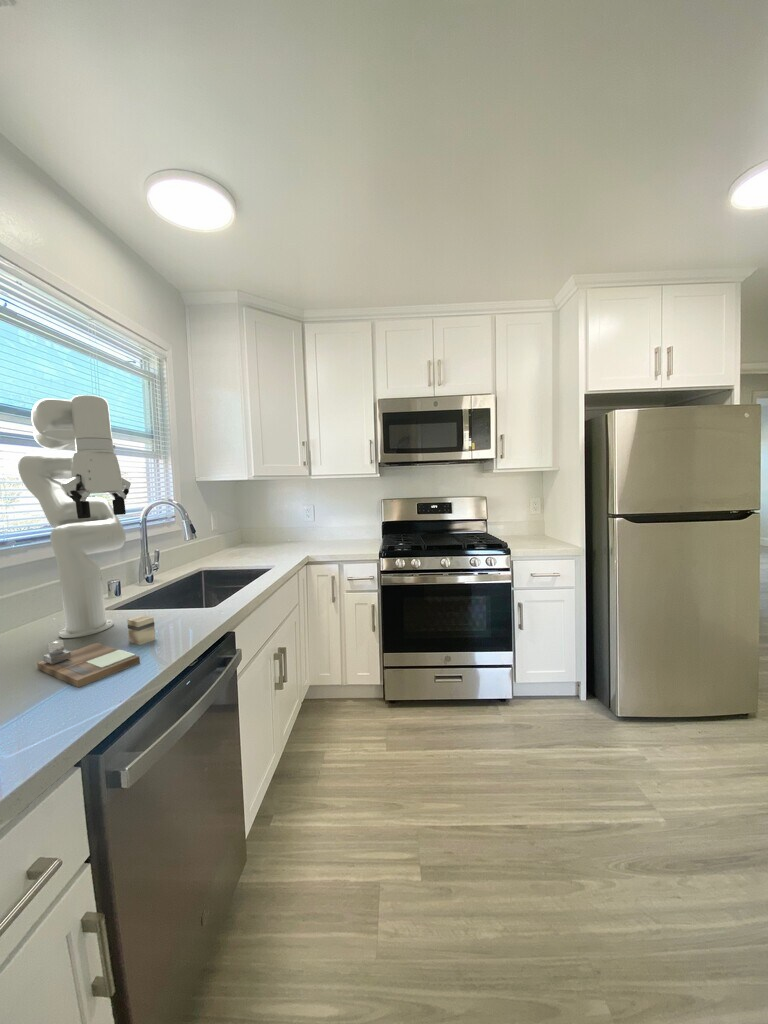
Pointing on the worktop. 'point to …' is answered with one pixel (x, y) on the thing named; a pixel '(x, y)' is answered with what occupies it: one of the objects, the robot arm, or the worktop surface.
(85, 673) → the board
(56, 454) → the robot arm
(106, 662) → the pad
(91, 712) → the worktop surface
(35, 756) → the worktop surface
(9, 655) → the worktop surface
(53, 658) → the silver slider knob
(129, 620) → the beige block
